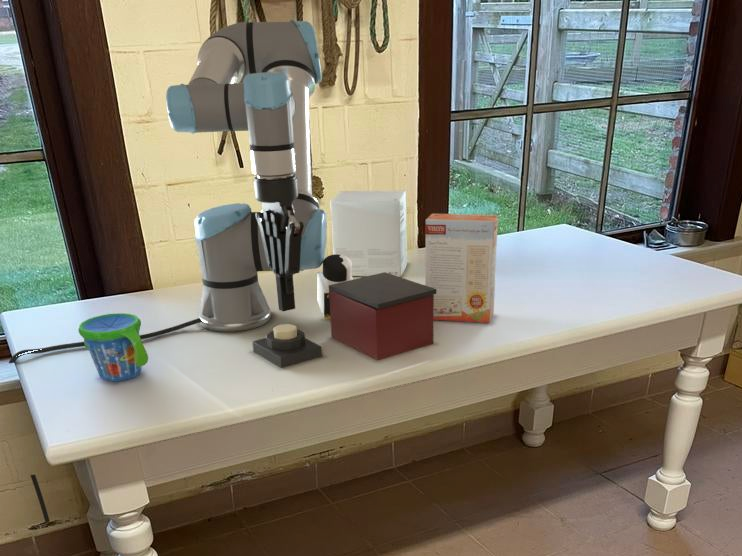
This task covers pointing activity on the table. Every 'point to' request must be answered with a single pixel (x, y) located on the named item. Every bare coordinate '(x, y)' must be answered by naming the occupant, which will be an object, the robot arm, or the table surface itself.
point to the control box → (287, 349)
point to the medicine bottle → (331, 279)
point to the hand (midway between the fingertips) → (287, 308)
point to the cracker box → (461, 265)
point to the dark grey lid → (382, 290)
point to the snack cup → (114, 345)
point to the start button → (285, 331)
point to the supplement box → (370, 230)
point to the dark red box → (382, 325)
